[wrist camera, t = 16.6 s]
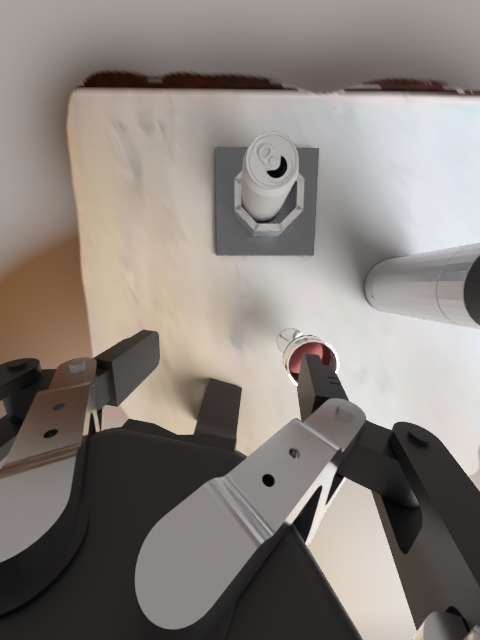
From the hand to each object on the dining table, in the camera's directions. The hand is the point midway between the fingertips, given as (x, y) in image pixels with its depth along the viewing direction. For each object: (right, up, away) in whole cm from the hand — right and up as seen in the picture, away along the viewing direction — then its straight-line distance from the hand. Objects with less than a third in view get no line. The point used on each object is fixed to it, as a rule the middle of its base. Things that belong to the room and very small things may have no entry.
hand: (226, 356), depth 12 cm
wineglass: (+10, -2, +28) cm, 30 cm away
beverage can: (+4, +21, +24) cm, 32 cm away
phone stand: (-3, -14, +30) cm, 33 cm away
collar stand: (+5, +21, +24) cm, 32 cm away
